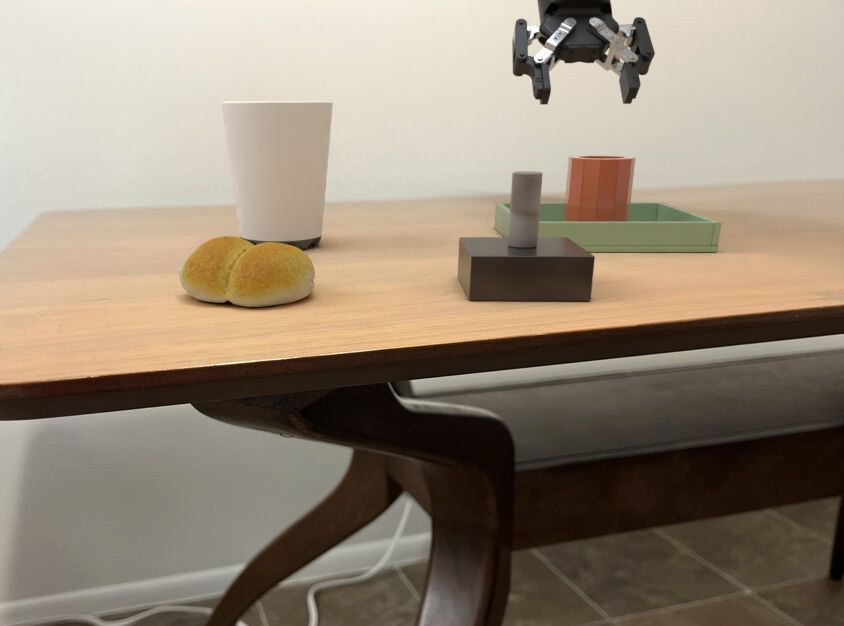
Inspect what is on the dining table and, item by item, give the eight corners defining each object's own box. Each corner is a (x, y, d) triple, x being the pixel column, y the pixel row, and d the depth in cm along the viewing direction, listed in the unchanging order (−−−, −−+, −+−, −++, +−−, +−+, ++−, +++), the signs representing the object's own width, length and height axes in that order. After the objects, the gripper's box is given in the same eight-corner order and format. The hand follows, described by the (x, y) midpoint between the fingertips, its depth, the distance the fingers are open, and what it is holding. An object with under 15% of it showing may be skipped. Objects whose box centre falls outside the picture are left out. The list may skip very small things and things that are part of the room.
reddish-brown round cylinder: (616, 228, 81) (624, 155, 79) (634, 237, 75) (642, 159, 73) (557, 227, 81) (563, 155, 79) (570, 237, 76) (577, 159, 73)
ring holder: (564, 277, 61) (573, 167, 59) (590, 301, 54) (603, 177, 51) (457, 276, 62) (462, 168, 59) (469, 300, 54) (475, 177, 51)
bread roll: (287, 313, 51) (285, 250, 50) (165, 302, 54) (160, 242, 53) (335, 287, 58) (334, 231, 57) (225, 278, 61) (222, 225, 60)
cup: (270, 258, 69) (265, 100, 65) (207, 244, 76) (199, 101, 72) (355, 245, 76) (356, 100, 71) (290, 233, 83) (287, 101, 79)
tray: (659, 227, 85) (662, 202, 84) (717, 252, 71) (721, 222, 70) (494, 227, 86) (495, 202, 85) (518, 252, 72) (520, 222, 71)
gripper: (512, -39, 88) (524, 70, 80) (646, -42, 87) (670, 68, 80) (502, 20, 94) (512, 125, 87) (626, 18, 94) (647, 124, 87)
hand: (587, 98), depth 84 cm, fingers open, 8 cm apart
